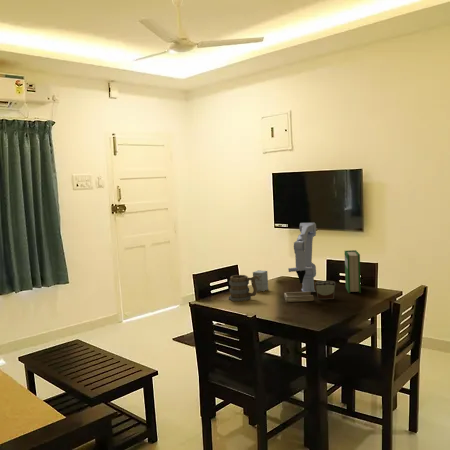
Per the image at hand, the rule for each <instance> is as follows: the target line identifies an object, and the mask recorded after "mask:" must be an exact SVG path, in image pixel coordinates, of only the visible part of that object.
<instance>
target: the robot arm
mask: <svg viewBox="0 0 450 450" xmlns="http://www.w3.org/2000/svg"><path fill="white" fill-rule="evenodd" d="M299 231H300V232H299V233H300V234H298V236H297V238H296V241H294V242H293V250H294V254H295V257H294V258H295V259H294V260H295V267H291V268H290V267H288V272H289V273H292V272H293V273H294V272H295V273H296V275H297V276H298V280H299V283H300V284H302V288H300V290H301V292H311V293H317V290H315V279H314V278H315V277H316V276H317V267H316V265H315V263H314V262H313V261H312V259H313V257H312V256H313V241H314V237H316V236H317V235H316V234H317V224H316V223H315V222H300V223H299Z"/></svg>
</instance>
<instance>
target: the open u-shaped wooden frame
mask: <svg viewBox="0 0 450 450" xmlns="http://www.w3.org/2000/svg"><path fill="white" fill-rule="evenodd" d="M283 293H284V294H283V295H284V296H283V297H284V299H285V302H286V303H292V302H293V303H294V302H312V301H314V295H313V294H312V292H303V291H294V292H293V291H290V292H283Z"/></svg>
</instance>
